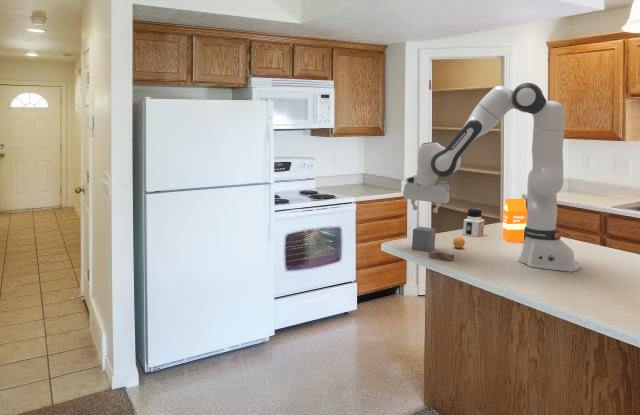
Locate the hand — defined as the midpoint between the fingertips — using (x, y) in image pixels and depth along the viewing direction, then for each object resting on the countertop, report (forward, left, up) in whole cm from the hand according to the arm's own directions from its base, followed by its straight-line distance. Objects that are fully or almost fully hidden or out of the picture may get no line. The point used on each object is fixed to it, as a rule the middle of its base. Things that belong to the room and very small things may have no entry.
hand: (425, 211), depth 230 cm
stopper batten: (-13, +11, -17) cm, 24 cm away
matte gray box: (0, 0, -17) cm, 17 cm away
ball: (-12, -11, -14) cm, 22 cm away
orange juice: (-28, -42, -17) cm, 53 cm away
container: (-8, -42, -17) cm, 46 cm away
